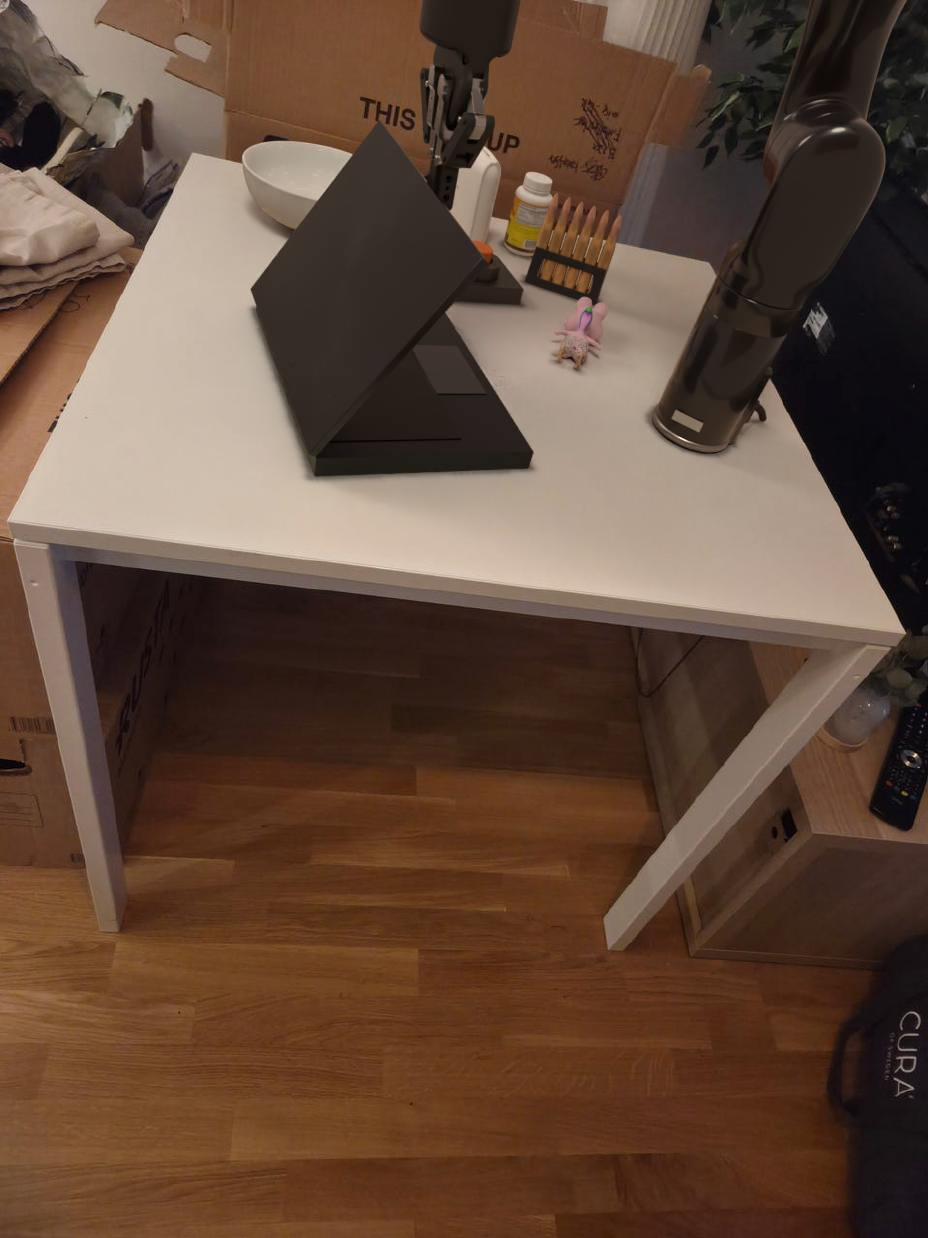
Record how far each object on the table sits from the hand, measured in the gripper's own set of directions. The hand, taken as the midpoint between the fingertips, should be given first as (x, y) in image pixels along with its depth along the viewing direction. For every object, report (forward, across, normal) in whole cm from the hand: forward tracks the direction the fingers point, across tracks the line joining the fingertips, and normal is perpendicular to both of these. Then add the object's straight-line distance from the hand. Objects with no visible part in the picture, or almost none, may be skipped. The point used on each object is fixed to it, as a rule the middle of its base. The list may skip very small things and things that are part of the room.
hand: (438, 207), depth 72 cm
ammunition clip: (+20, +24, -30) cm, 43 cm away
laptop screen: (+7, 0, +7) cm, 10 cm away
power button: (+15, +24, -16) cm, 33 cm away
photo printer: (+19, +41, -20) cm, 49 cm away
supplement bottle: (+20, +37, -29) cm, 51 cm away
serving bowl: (+19, +40, +1) cm, 44 cm away
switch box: (+19, +24, -16) cm, 35 cm away
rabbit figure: (+20, +10, -26) cm, 34 cm away
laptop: (+18, 0, +3) cm, 19 cm away
